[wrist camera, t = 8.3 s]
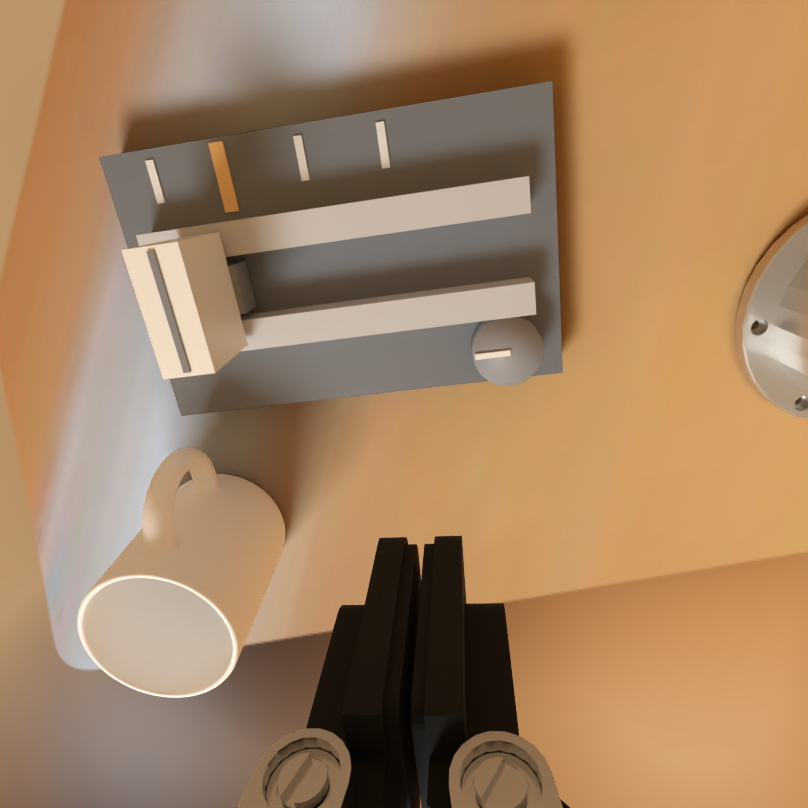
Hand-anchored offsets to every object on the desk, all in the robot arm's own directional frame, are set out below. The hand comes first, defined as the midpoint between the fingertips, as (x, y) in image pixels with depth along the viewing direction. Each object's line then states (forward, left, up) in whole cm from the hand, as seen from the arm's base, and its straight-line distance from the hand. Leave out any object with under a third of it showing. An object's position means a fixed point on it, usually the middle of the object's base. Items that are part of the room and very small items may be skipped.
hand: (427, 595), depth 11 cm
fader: (+11, -4, -20) cm, 23 cm away
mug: (+15, +10, -22) cm, 29 cm away
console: (+4, -4, -22) cm, 23 cm away
